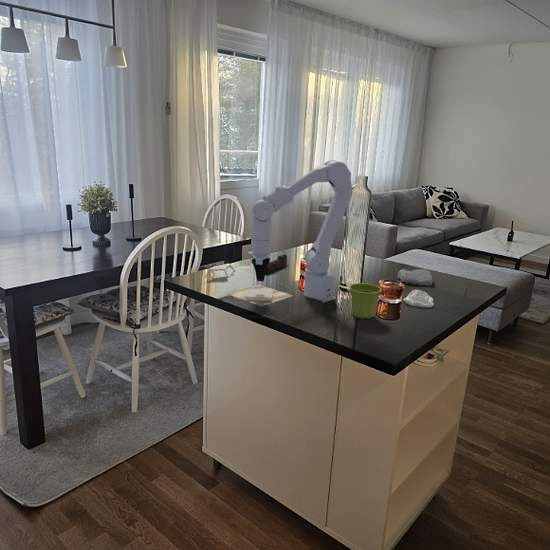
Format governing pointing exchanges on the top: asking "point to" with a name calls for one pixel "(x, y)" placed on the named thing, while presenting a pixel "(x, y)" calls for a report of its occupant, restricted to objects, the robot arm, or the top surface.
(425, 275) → the stone block
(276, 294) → the board
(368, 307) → the plant pot
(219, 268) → the origami figure
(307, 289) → the robot arm
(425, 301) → the white rock
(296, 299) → the top surface
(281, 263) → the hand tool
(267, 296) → the tile
